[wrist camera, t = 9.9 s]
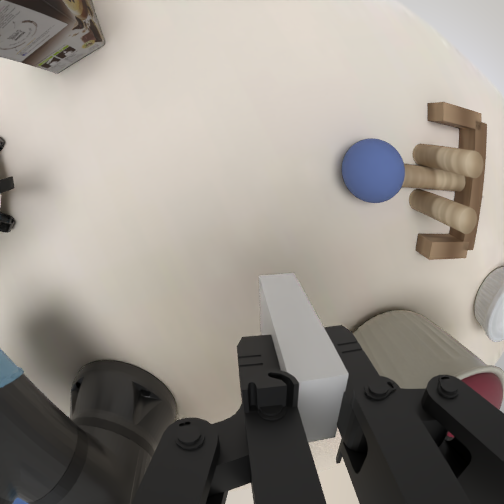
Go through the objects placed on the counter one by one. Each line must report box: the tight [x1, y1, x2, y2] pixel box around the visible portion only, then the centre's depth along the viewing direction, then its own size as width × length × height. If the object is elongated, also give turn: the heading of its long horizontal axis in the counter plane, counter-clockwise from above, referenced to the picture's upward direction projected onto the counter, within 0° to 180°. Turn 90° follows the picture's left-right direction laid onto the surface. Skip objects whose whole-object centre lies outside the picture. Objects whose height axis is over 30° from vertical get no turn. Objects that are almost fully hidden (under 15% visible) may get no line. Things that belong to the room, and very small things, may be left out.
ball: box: [342, 139, 405, 203], centre depth 27 cm, size 6×6×6 cm
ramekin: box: [475, 267, 504, 342], centre depth 35 cm, size 11×11×5 cm
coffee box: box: [0, 0, 105, 73], centre depth 15 cm, size 9×6×16 cm
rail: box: [416, 102, 487, 260], centre depth 29 cm, size 7×17×3 cm, turn 0°
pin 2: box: [409, 189, 477, 234], centre depth 27 cm, size 2×2×9 cm
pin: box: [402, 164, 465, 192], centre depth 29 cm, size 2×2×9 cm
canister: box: [353, 310, 504, 438], centre depth 28 cm, size 18×18×21 cm
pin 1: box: [413, 144, 484, 178], centre depth 25 cm, size 2×2×9 cm
